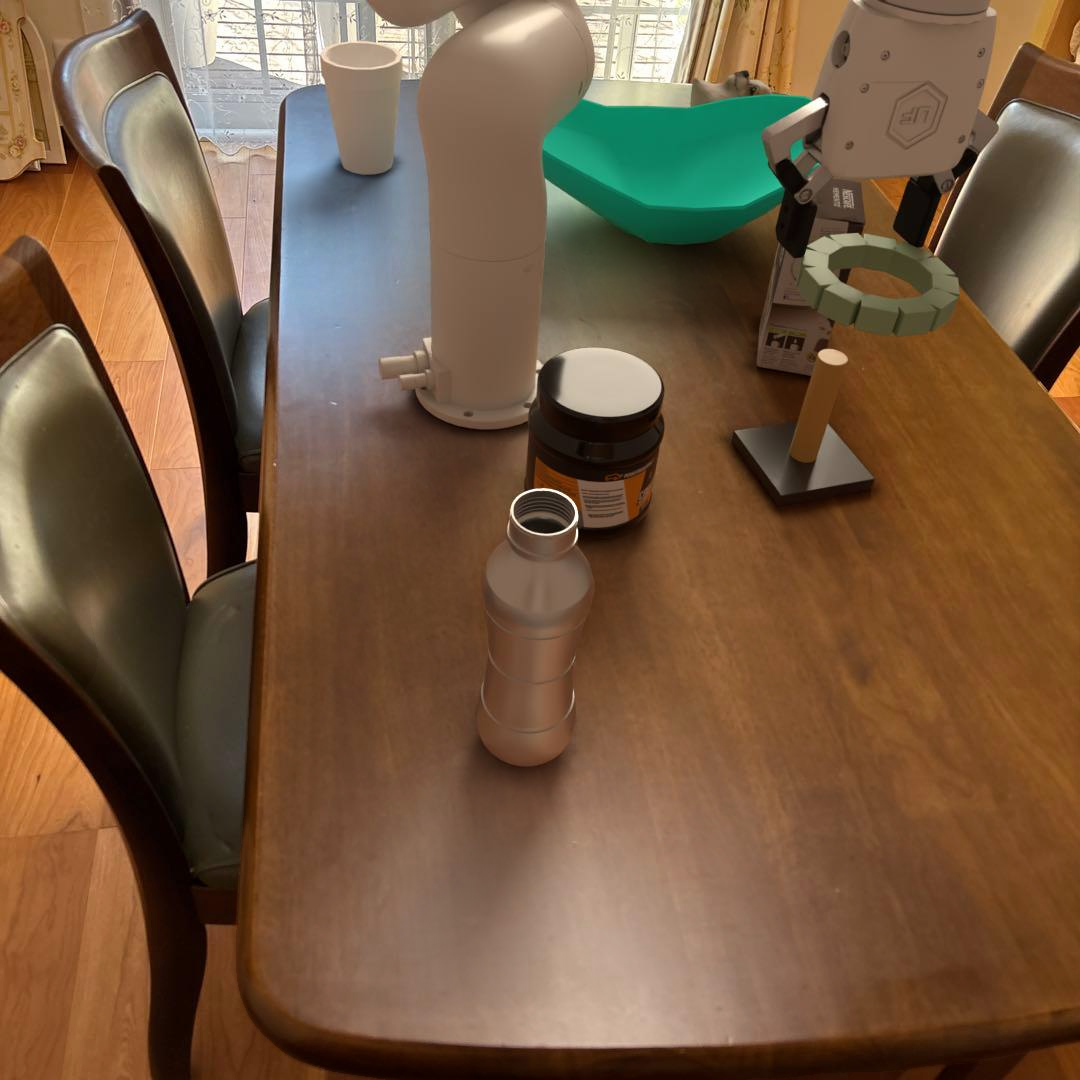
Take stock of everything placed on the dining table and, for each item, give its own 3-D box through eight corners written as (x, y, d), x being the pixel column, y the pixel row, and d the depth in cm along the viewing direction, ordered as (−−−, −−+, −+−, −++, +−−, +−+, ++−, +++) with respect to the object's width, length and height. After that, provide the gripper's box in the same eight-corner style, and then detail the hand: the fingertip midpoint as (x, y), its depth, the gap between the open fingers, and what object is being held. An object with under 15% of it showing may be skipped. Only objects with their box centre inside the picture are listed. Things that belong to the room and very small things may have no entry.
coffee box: (820, 378, 100) (867, 223, 89) (754, 367, 100) (792, 212, 89) (820, 330, 106) (864, 180, 95) (758, 320, 107) (794, 170, 96)
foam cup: (321, 152, 130) (312, 44, 121) (391, 144, 133) (387, 38, 124) (340, 184, 124) (332, 72, 115) (414, 175, 127) (411, 66, 118)
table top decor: (785, 178, 133) (810, 72, 124) (857, 287, 113) (893, 170, 104) (481, 174, 128) (484, 64, 119) (500, 288, 108) (505, 166, 99)
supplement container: (606, 564, 79) (624, 442, 71) (496, 507, 83) (502, 385, 75) (672, 495, 86) (697, 375, 77) (568, 445, 90) (581, 326, 81)
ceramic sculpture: (688, 51, 139) (792, 61, 142) (674, 115, 145) (774, 124, 148) (704, 81, 132) (814, 91, 134) (689, 147, 138) (794, 155, 140)
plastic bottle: (569, 696, 70) (600, 471, 56) (575, 782, 65) (611, 558, 51) (475, 695, 69) (482, 467, 55) (473, 781, 64) (481, 555, 51)
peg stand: (778, 506, 85) (811, 396, 78) (731, 441, 91) (757, 333, 84) (871, 489, 88) (911, 381, 80) (819, 427, 94) (852, 321, 86)
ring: (841, 343, 66) (849, 319, 65) (771, 261, 73) (777, 238, 72) (980, 329, 69) (990, 305, 68) (899, 251, 76) (907, 229, 75)
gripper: (831, 1, 56) (761, 280, 68) (1089, -3, 61) (982, 260, 72) (771, -39, 61) (716, 227, 73) (1014, -40, 66) (925, 211, 78)
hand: (849, 243), depth 73 cm, fingers closed on ring, 9 cm apart
